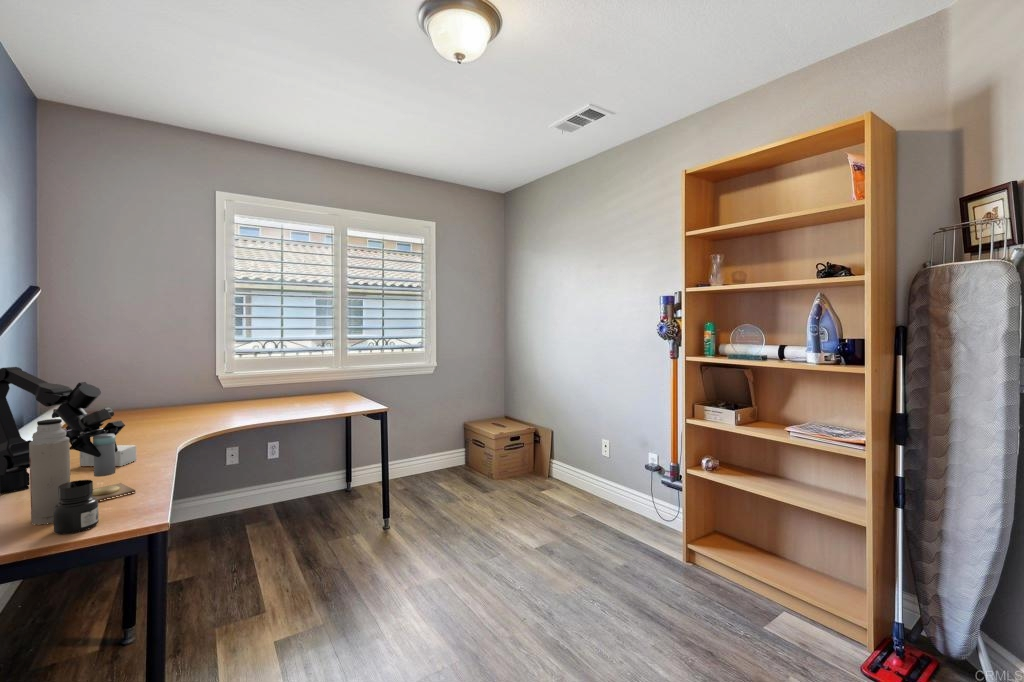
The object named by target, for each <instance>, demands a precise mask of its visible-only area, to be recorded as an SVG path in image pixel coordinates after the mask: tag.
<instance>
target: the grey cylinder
mask: <svg viewBox="0 0 1024 682" xmlns="http://www.w3.org/2000/svg"><path fill="white" fill-rule="evenodd" d="M115 441H116V436H115V434H113V433H108V434H99V435H95V436H93V437H92V443H93V444H94V446H95V447H96V448H97V449H98V451H99V452H100V454H101V456H100V457H96V456H94V467H93V476H94V477H98V478H99V477H107V476H112V475H114V474H116V467H115Z"/></svg>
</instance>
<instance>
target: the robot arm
mask: <svg viewBox="0 0 1024 682" xmlns="http://www.w3.org/2000/svg"><path fill="white" fill-rule="evenodd" d="M10 385H14V386H15V387H18V388H20V389H21V390H23V391H26V392H28V393H30V394H32V395H33V396H34V398H35V400H36V401H37V402H38V403H40V404H41V405H42V406H44V407H47V408H49V407H55V406H58V407H57V408H54V409H53V411H52V413H51V419H57V418H59V419H60V418H61V419H62V422H64V423H65V424H66V427H65V431H66V432H67V433H66V434H67V435H66V437H68V438H69V444H70V445H71V446H70V451H71V450H74V451H77V452H79V453H80V452H84V453H87V454H90V455H93V456H96V457H100V456H101V454H100V452H99V451H98V449H97V448H96V447H95V446H94V444H93V441H91V438H93V436H95V435H99V434H108V433H113V434H115V437H116V436H117V435H118V434H120V433H119V432H121V431H122V430H123V429H124V427H126V424H125V422H123V421H122V420H115V421H110V422H108V423H107V424H106V425H105V426H104V427H102V426H103V425H104V422H106V421H107V420H111V419H112V418H113V417H114V416H115V412H114V410H113V409H112V408H111V407H105V408H103V409H100V410H97V411H93V412H89V413H88V412H87V411H86V410H85V409H87V408H89V407H90V406H92V404H94V402H95V401H96V400H97V399H98V398H99V397H100V396H101V395H102V392H101V389H100V388H99V387H97V386H95V385H92V384H88V383H87V382H86V381H80V382H78V383H77V384H76V386H75V387H74V388H73V389H72V388H71V387H70V386H67V385H63V384H59V383H58V384H57V383H50V382H48V381H45V380H43V379H41V378H39V377H38V376H35V375H33V374H31V373H28V372H27V371H25V370H23V369H22V368H21V367H19V366H8V367H0V495H3V494H2V493H4V494H7V492H8V493H13V492H18V491H21V490H27V489H29V488H30V472H28V469H30V456H29V443H30V442H31V441H32V440H31V439H29V440H25V439H24V438H23V437H22V436H21V434H20V433H21V432H20V430H19V429H18V425H17V423H16V421H15V418H14V414H13V413H12V409H11V407H10V405H9V401H8V399H7V396H8V393H9V391H10V389H11V388H10ZM100 427H102V428H100ZM117 445H118V444H117V442H116V440H115V452H117V451H118V449H117Z"/></svg>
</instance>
